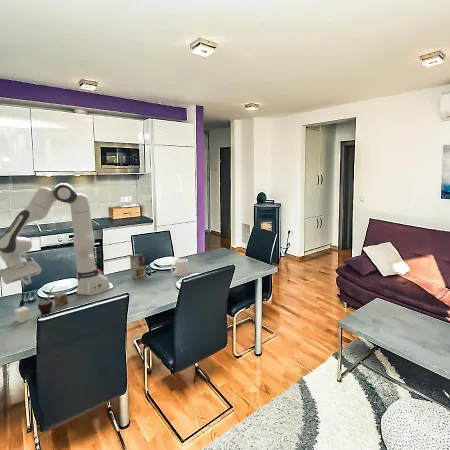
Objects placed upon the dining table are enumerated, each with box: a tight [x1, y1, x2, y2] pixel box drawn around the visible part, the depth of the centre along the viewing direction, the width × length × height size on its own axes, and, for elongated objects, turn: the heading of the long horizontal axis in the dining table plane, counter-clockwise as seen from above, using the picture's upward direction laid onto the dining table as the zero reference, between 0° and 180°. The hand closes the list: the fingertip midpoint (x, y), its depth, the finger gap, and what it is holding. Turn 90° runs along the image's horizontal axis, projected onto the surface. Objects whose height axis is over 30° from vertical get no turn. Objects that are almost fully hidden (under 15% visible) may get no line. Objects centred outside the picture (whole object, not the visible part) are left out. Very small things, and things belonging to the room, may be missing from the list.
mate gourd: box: [37, 285, 56, 317], centre depth 176 cm, size 8×8×15 cm
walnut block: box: [53, 292, 69, 307], centre depth 189 cm, size 5×5×6 cm
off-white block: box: [14, 306, 31, 323], centre depth 170 cm, size 5×5×6 cm
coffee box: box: [129, 253, 147, 279], centre depth 235 cm, size 9×6×16 cm
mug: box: [170, 258, 190, 277], centre depth 238 cm, size 14×10×11 cm
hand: (28, 283), depth 183 cm, fingers closed
